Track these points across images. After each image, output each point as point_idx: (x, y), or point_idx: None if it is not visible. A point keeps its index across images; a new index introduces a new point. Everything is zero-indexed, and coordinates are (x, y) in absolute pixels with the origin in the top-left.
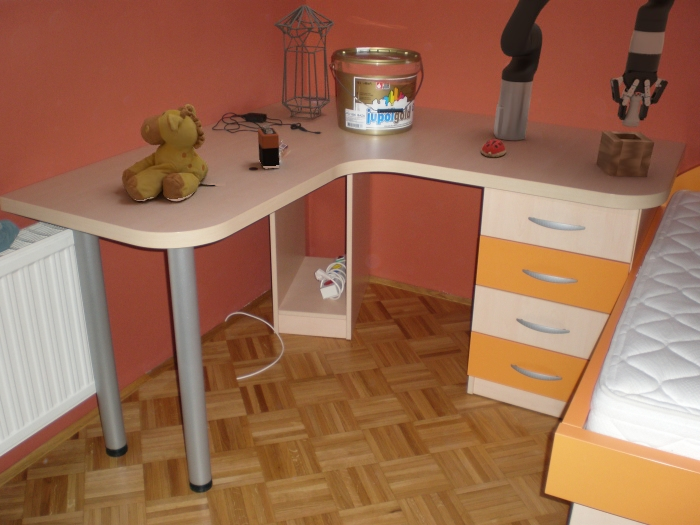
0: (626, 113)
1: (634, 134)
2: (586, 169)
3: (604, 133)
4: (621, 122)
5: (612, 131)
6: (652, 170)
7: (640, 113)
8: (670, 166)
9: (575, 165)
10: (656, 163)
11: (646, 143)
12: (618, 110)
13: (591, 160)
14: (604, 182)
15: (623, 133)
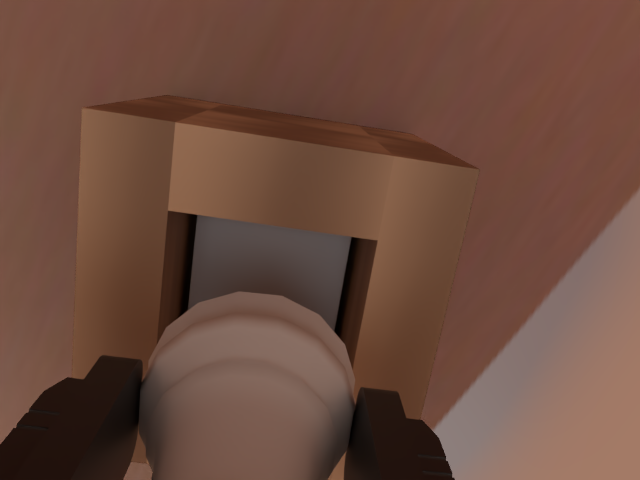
0: (155, 446)
1: (375, 238)
2: (57, 211)
3: (80, 185)
4: (153, 354)
5: (188, 133)
6: (467, 251)
7: (362, 470)
8: (630, 182)
9: (7, 125)
10: (583, 116)
11: (340, 477)
12: (13, 438)
13: (161, 17)
14: None
15: (271, 217)
